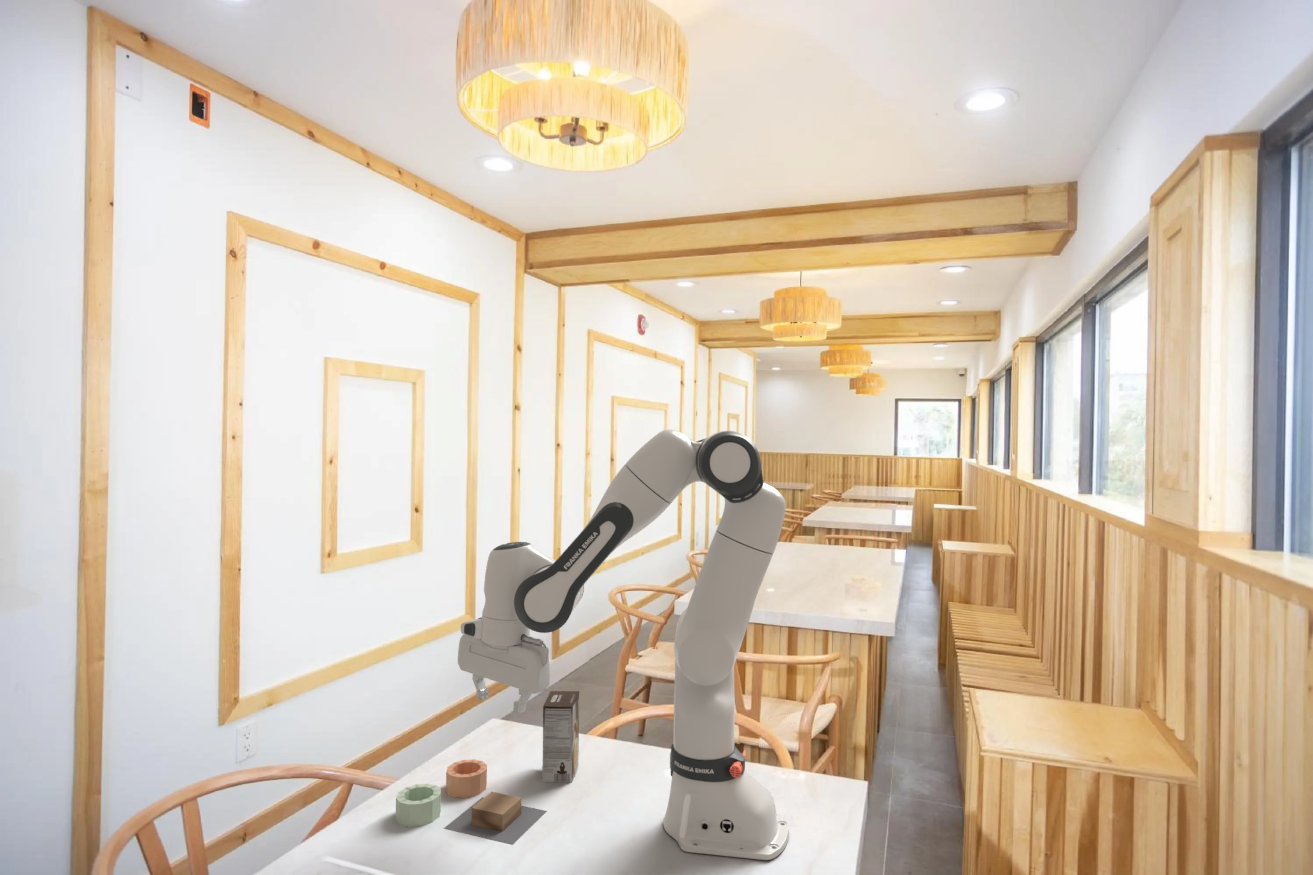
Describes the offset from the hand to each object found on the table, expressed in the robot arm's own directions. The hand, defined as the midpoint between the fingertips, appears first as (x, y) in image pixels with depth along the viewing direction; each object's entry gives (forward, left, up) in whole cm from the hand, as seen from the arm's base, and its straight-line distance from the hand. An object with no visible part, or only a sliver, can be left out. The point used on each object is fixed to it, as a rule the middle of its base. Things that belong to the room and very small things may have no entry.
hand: (500, 704), depth 134 cm
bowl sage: (+13, +6, -21) cm, 25 cm away
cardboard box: (-1, +2, -20) cm, 20 cm away
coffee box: (-3, -19, -21) cm, 28 cm away
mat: (-1, +2, -21) cm, 21 cm away
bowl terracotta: (+11, -6, -21) cm, 24 cm away
